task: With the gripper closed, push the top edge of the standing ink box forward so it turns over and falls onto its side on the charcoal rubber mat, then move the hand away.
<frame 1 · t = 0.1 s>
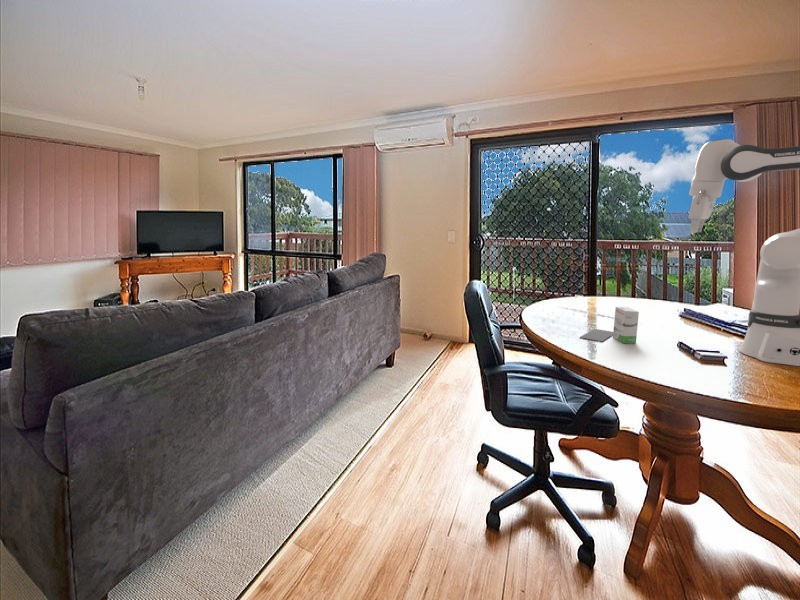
hand: (695, 232, 141), 39 cm above the table, tool pointing down, fingers open, 8 cm apart
mat: (598, 335, 157), on the table
ink box: (624, 340, 151), on the table
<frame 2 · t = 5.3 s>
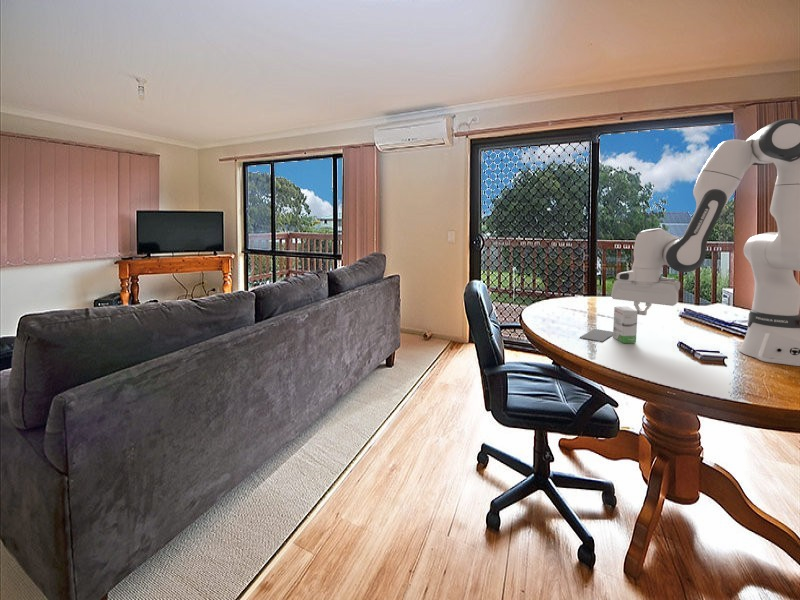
hand: (641, 314, 145), 10 cm above the table, tool pointing down, fingers closed
ink box: (624, 340, 151), on the table, touching gripper
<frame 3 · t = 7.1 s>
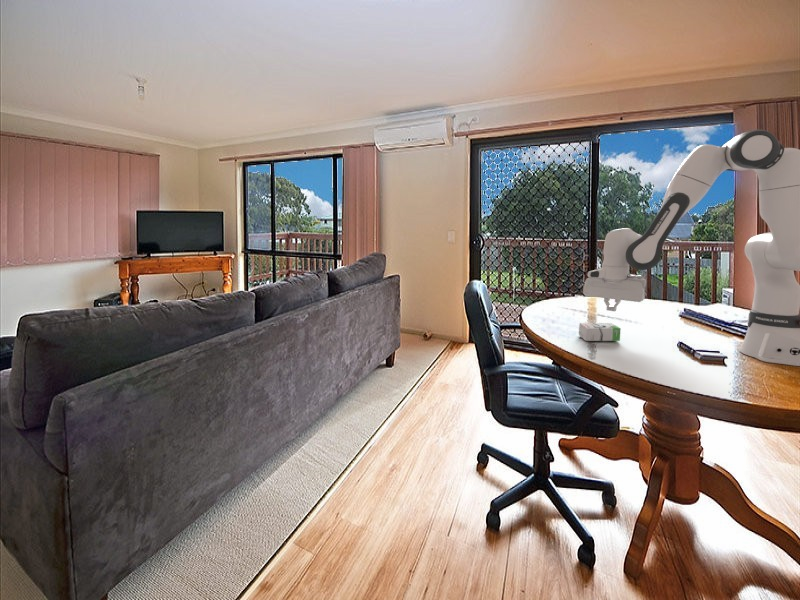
hand: (611, 310, 152), 10 cm above the table, tool pointing down, fingers closed
ink box: (616, 331, 151), point 3 cm above the table, touching mat
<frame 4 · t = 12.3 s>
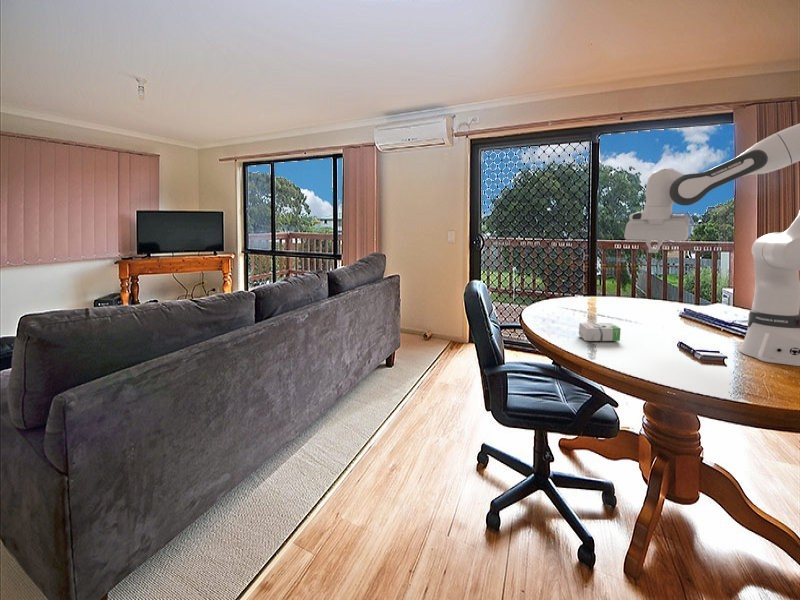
hand: (653, 252, 154), 31 cm above the table, tool pointing down, fingers closed
nothing on the table moved.
at the end: ink box tilted 91°; ink box inside the target area (7.9 cm from its centre), point 3.0 cm above the table; the gripper is holding nothing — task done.
